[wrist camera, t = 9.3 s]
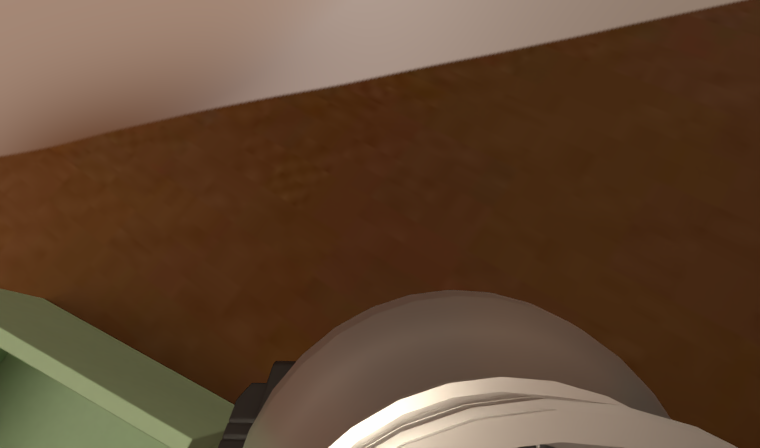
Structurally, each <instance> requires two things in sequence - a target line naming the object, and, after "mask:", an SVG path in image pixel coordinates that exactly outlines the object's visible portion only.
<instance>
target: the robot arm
mask: <svg viewBox="0 0 760 448" xmlns="http://www.w3.org/2000/svg"><path fill="white" fill-rule="evenodd" d="M295 363H296V361H275V363H274V364H273V367H272V370H271V373H270V376H269V379H268V382H267V383H251V385H250V386H249V387H248V388H247V389H246V390H245V391H244V392H243V393H242V394H241V396H240V397H239V398H238V399H237V400H236V403H235V405H234V408H233V410H232V413H231V416H230V418H229V423H227V426H226V428H225V431H224V433H223V438H222V440H221V441H220V444H219V446H218V448H243V446H244V443H245V440H246V438H247V435H248V432H249V430H250V428H251V426H252V425H253V423H254V421H255V419H256V418H257V416H258V414H259V413H260V411H261V409H262V407H263V406H264V404H265V402H266V400H267V399H268V397H269V395H270V394H271V392H272V390H273V389H274V388H275V386H276V385H277V384H278V383H279V382H280V380H281V379H282V378H283V377H284V376H285V375H286V373H287V372H288V371H289V370H290V369H291V367H292V366H293V365H294V364H295Z"/></svg>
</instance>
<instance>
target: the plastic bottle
mask: <svg viewBox="0 0 760 448" xmlns="http://www.w3.org/2000/svg"><path fill="white" fill-rule="evenodd" d="M243 448H737V447H735V446H734V445H732V444H730V443H728V442H726V441H724V440H722V439H720V438H718V437H716V436H714V435H712V434H710V433H708V432H706V431H704V430H702V429H700V428H698V427H694V426H691V425H688V424H684V423H681V422H677V421H674V420H671V419H670V417H669V416H668V414H667V413H666V411H665V410H664V408H663V407H662V405H661V403H660V402H659V400H658V399H657V397H656V396H655V394H654V393H653V392H652V391H651V390H650V389H649V388H648V387H647V386H646V385H645V384H644V383H643V382H642V381H641V379H640V378H639V377H638V376H637V375H636V374H635V373H634V372H633V371H632V370H631V369H630V368H629V367H628V366H627V365H626V364H625V363H624V362H623V361H622V359H621V358H619V357H618V356H617V355H615V354H614V353H613V352H611V351H610V350H609V349H607V348H606V347H605V346H603V345H602V344H600V343H599V342H598V341H596V340H595V339H594V338H592V337H591V336H590V335H588V334H587V333H586V332H584V331H583V330H581V329H580V328H578V327H576V326H575V325H573V324H572V323H570V322H568V321H566V320H564V319H562V318H560V317H558V316H556V315H554V314H552V313H550V312H547V311H545V310H543V309H541V308H539V307H537V306H535V305H533V304H531V303H527V302H524V301H520V300H516V299H513V298H509V297H505V296H501V295H498V294H494V293H489V292H475V291H460V290H444V291H436V292H428V293H420V294H412V295H408V296H405V297H402V298H399V299H396V300H393V301H390V302H387V303H384V304H381V305H377V306H374V307H371V308H370V309H368V310H366V311H364V312H362V313H361V314H359V315H357V316H355V317H353V318H352V319H350V320H348V321H346V322H344V323H343V324H341V325H339V326H337V327H335V328H334V329H333V330H332V331H330V332H329V333H328V334H327V335H326V336H324V337H323V338H322V339H321V340H320V341H318V342H317V343H316V344H315V345H313V346H312V347H311V348H310V349H309V350H307V351H306V352H305V353H304V354H303V355H301V357H300V358H299V359H298V360H297V361H296V363H295V364H294V365H293V366H292V367H291V369H290V370H289V371H288V372H287V373H286V375H285V376H284V377H283V378H282V379H281V380H280V382H279V383H278V384H277V385H276V386H275V388H274V389H273V390H272V392H271V394H270V395H269V397H268V399H267V400H266V402H265V404H264V406H263V407H262V409H261V411H260V413H259V414H258V416H257V418H256V419H255V421H254V423H253V425H252V426H251V428H250V430H249V432H248V435H247V438H246V440H245V443H244V446H243Z"/></svg>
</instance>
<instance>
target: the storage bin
mask: <svg viewBox="0 0 760 448" xmlns="http://www.w3.org/2000/svg"><path fill="white" fill-rule="evenodd" d="M233 408H234V404H232V403H230V402H228V401H227V400H225V399H223V398H221V397H219V396H218V395H216V394H214V393H212V392H210V391H209V390H207V389H205V388H203V387H201V386H200V385H198V384H196V383H194V382H192V381H191V380H189V379H187V378H185V377H183V376H182V375H180V374H178V373H176V372H174V371H173V370H171V369H169V368H167V367H165V366H164V365H162V364H160V363H158V362H156V361H155V360H153V359H151V358H149V357H147V356H146V355H144V354H142V353H140V352H138V351H137V350H135V349H133V348H131V347H130V346H128V345H126V344H124V343H122V342H121V341H119V340H117V339H115V338H113V337H112V336H110V335H108V334H106V333H104V332H103V331H101V330H99V329H97V328H95V327H94V326H92V325H90V324H88V323H86V322H85V321H83V320H81V319H79V318H77V317H76V316H74V315H72V314H70V313H68V312H67V311H65V310H63V309H61V308H59V307H58V306H56V305H54V304H52V303H50V302H49V301H47V300H45V299H43V298H39V297H34V296H30V295H26V294H21V293H17V292H12V291H8V290H4V289H0V448H218V446H219V444H220V441H221V440H222V438H223V433H224V431H225V428H226V426H227V423H229V418H230V416H231V413H232V410H233Z"/></svg>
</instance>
